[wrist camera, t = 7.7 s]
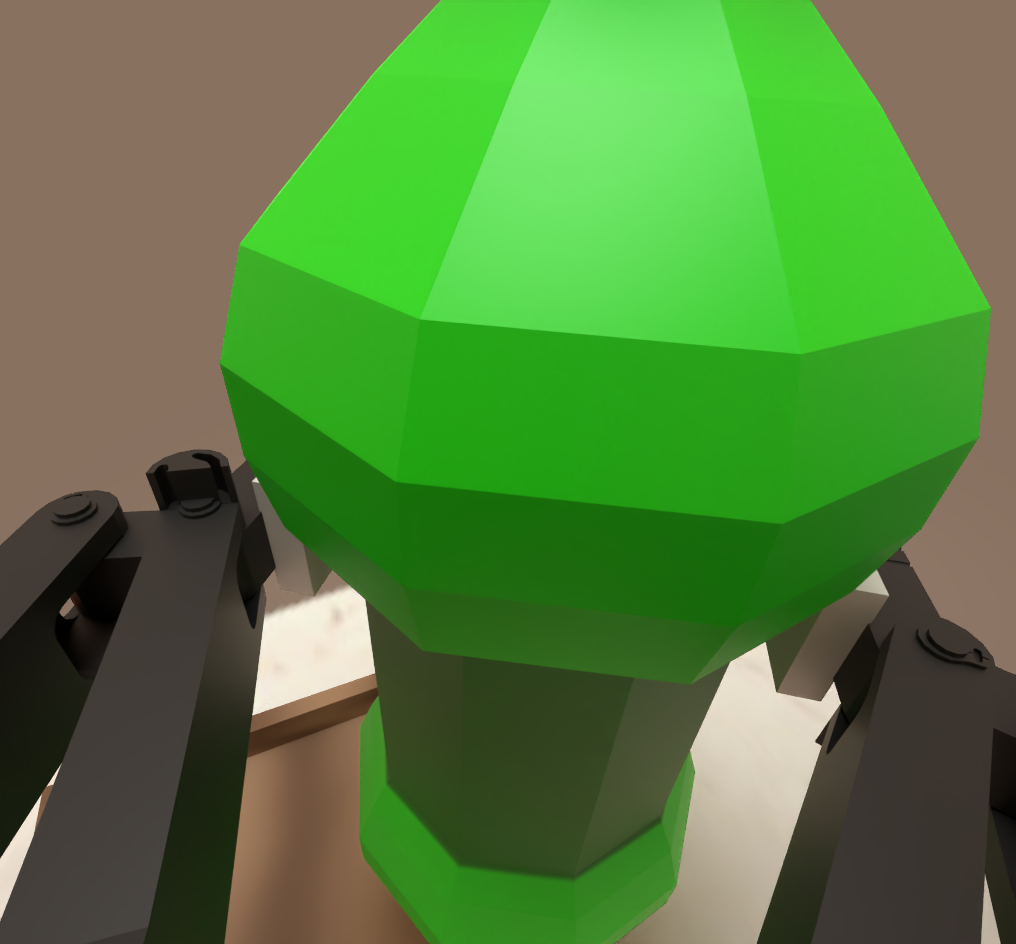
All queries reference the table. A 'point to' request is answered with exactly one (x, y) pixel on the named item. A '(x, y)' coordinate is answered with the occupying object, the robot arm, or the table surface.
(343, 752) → the tray
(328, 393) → the plastic bottle
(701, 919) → the table surface
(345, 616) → the table surface
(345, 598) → the table surface
